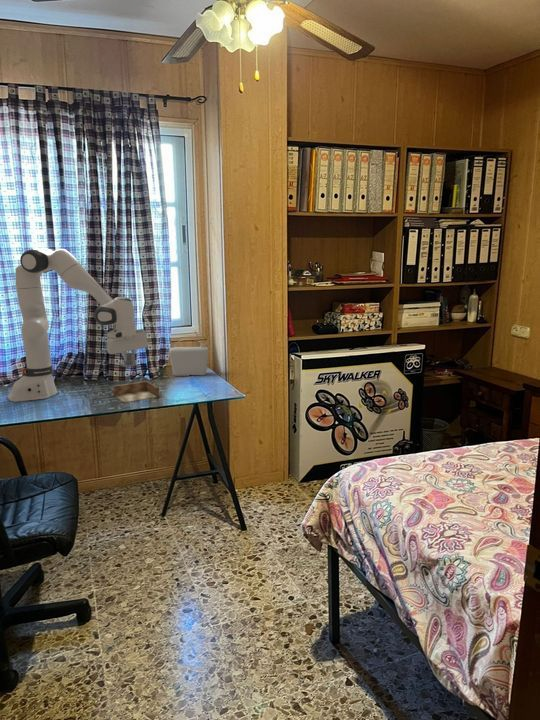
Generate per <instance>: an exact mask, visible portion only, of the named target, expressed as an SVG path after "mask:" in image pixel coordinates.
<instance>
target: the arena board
mask: <svg viewBox="0 0 540 720" xmlns="http://www.w3.org/2000/svg"><path fill="white" fill-rule="evenodd" d="M115 397H116V398H117V399H118V400H120V401H121V402H122V403H123V404H125V403H126V404H127V403H132V402H137V401H138V402H139V401H142V400H149V399H155V398H157V397H156V396H155V395H153V394H152V393H150V392H148V391H141V392H135V393H129V394H122V395H116V396H115Z"/></svg>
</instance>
